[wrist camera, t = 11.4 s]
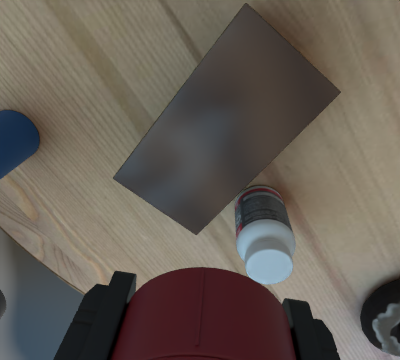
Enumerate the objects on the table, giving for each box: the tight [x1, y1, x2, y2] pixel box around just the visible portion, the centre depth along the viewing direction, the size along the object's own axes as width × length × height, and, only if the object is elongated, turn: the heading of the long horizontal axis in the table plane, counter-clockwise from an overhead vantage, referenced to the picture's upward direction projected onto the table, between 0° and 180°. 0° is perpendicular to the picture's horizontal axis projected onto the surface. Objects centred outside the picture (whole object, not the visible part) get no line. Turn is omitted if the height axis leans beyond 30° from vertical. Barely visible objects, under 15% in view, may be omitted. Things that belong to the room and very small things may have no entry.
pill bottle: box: [235, 186, 296, 284], centre depth 32 cm, size 5×5×10 cm
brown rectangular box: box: [113, 3, 341, 235], centre depth 29 cm, size 17×9×7 cm, turn 142°
